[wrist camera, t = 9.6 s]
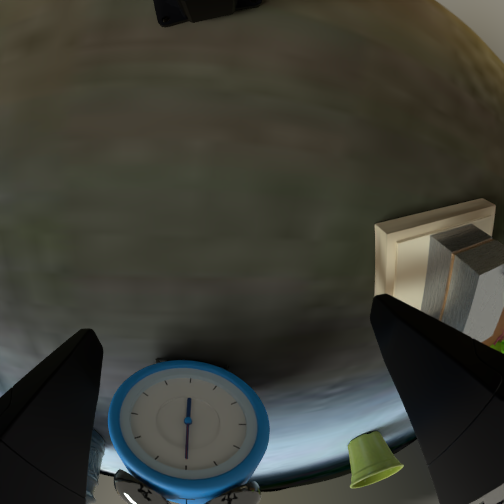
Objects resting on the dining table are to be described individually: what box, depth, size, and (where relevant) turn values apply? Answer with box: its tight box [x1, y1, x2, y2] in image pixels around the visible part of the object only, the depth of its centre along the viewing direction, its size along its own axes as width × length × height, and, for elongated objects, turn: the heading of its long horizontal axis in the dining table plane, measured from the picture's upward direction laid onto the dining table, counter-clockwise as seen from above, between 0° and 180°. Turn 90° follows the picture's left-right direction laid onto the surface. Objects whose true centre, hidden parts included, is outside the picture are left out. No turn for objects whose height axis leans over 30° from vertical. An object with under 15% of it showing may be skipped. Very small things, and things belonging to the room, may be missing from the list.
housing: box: [421, 224, 504, 342], centre depth 18 cm, size 5×8×7 cm, turn 12°
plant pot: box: [348, 431, 403, 488], centre depth 35 cm, size 9×9×9 cm
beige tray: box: [375, 198, 496, 311], centre depth 22 cm, size 10×13×2 cm
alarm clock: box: [108, 359, 270, 504], centre depth 20 cm, size 13×6×15 cm, turn 81°
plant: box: [481, 307, 504, 353], centre depth 27 cm, size 20×20×11 cm
